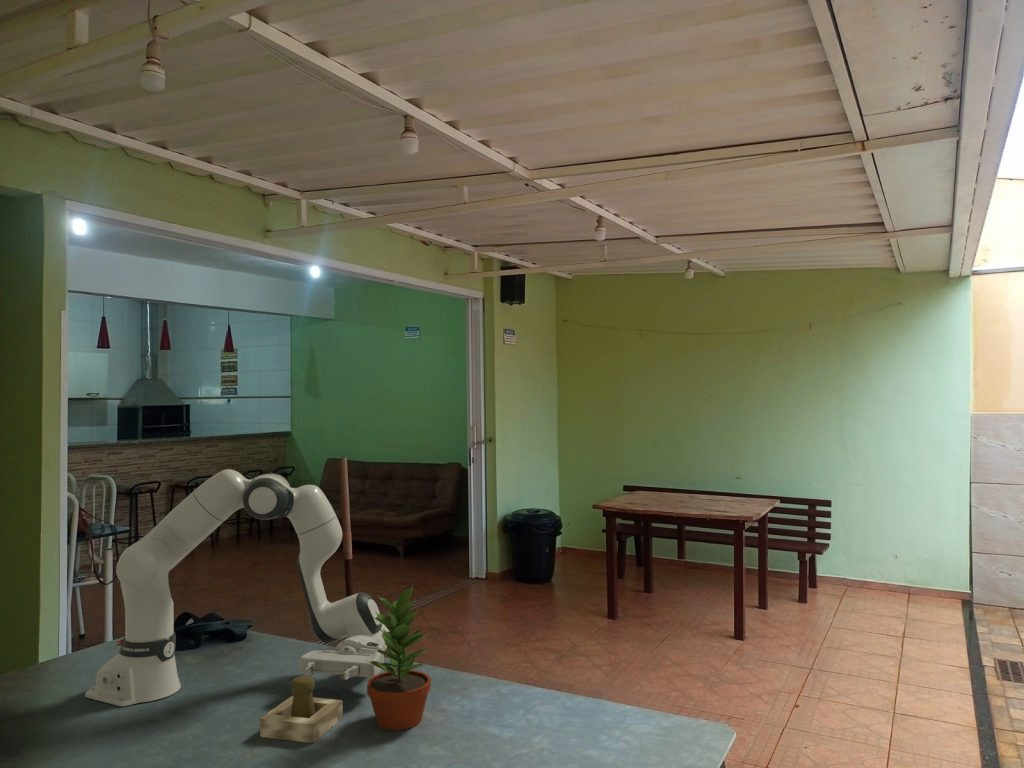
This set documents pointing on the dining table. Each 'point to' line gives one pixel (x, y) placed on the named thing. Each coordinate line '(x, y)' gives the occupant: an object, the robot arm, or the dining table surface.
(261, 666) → the dining table surface
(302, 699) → the cork
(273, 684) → the dining table surface
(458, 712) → the dining table surface
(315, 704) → the socket block
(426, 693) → the potted plant
